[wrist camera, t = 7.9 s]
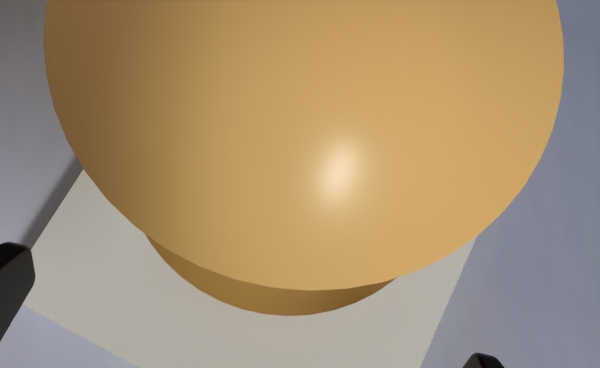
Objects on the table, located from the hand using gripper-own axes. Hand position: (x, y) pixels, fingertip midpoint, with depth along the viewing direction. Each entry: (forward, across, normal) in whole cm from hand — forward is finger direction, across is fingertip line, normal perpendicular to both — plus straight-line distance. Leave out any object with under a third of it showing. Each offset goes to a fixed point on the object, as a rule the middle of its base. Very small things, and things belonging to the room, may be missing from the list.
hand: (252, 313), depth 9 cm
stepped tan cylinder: (+7, 0, +2) cm, 7 cm away
